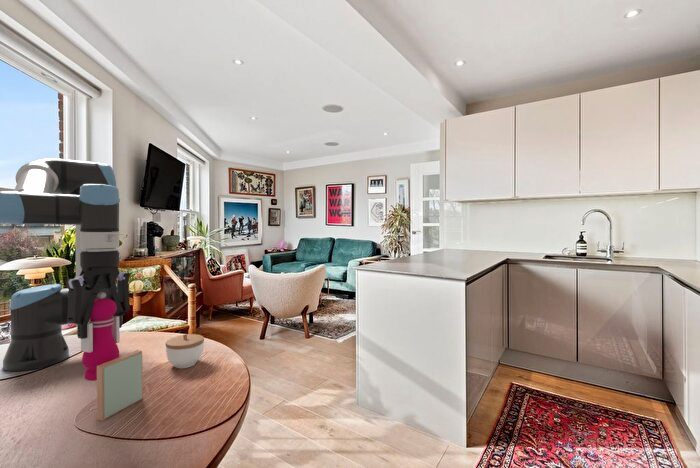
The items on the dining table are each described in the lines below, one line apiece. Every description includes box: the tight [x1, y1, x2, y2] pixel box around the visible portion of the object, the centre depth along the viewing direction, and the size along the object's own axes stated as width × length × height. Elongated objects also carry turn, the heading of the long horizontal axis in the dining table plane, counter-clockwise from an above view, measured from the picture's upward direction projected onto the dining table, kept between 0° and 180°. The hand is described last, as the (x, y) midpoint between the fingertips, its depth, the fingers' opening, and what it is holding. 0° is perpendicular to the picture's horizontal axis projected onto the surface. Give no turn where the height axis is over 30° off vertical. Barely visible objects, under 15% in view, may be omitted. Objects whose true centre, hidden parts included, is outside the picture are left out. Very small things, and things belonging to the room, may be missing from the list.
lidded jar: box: [165, 333, 205, 369], centre depth 104 cm, size 11×11×9 cm
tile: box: [96, 349, 143, 422], centre depth 79 cm, size 2×10×12 cm, turn 163°
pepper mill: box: [81, 292, 120, 382], centre depth 80 cm, size 7×7×20 cm
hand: (100, 346), depth 80 cm, fingers closed on pepper mill, 6 cm apart
